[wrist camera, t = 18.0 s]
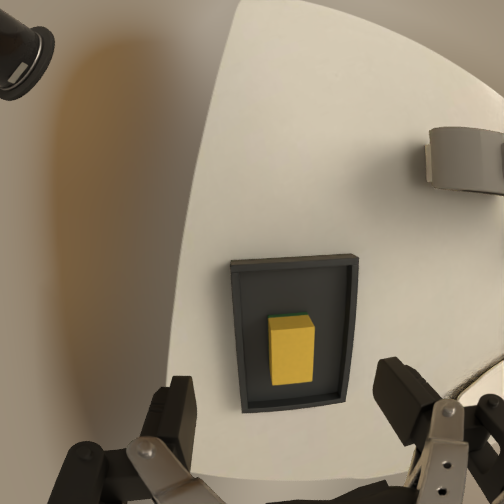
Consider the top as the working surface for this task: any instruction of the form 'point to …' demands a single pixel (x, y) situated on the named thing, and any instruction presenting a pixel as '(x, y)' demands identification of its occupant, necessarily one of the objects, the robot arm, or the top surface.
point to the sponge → (290, 348)
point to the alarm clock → (466, 160)
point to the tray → (294, 301)
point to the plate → (484, 386)
